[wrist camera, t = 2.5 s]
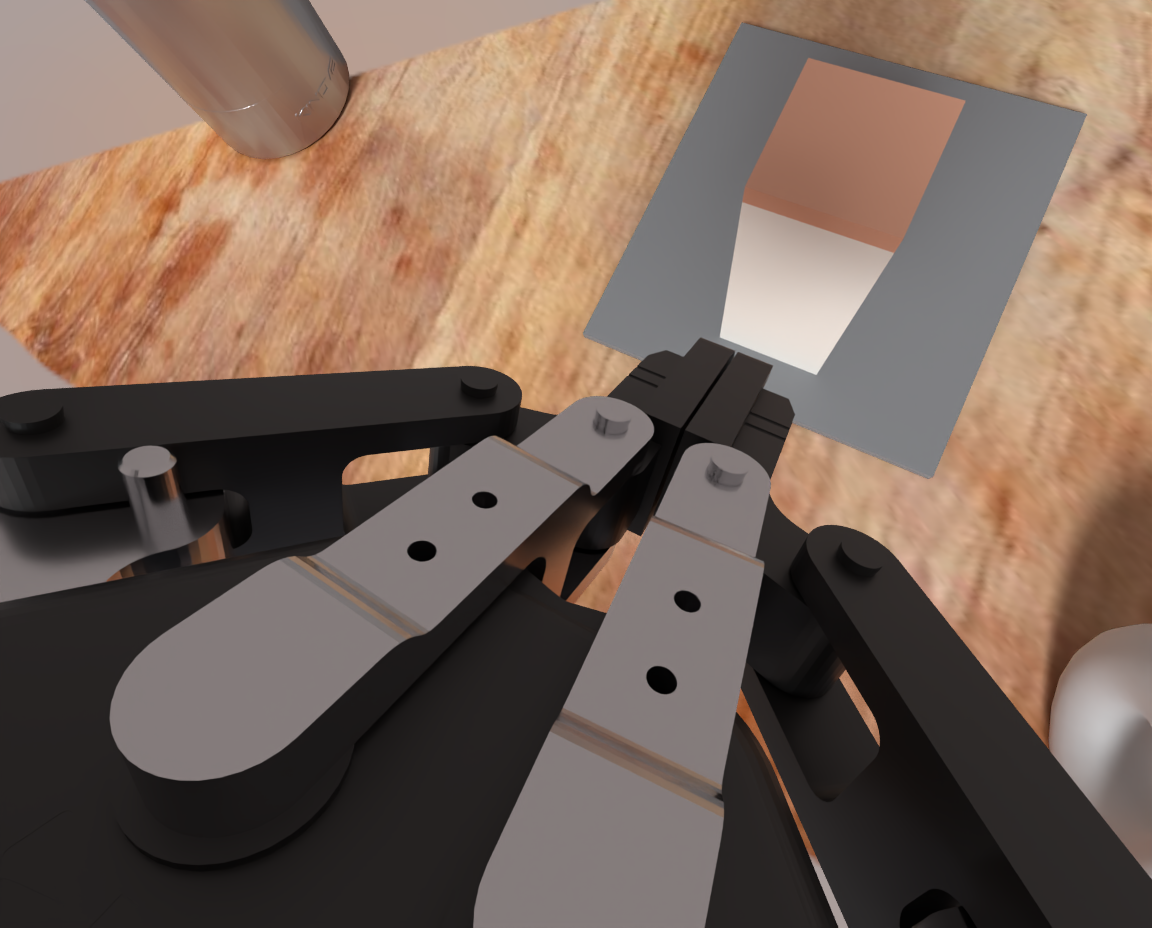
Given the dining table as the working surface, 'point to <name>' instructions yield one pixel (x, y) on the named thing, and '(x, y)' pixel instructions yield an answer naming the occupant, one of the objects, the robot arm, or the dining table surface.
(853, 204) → the block
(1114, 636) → the donut
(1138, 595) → the dining table surface
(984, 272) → the mat
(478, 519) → the robot arm
